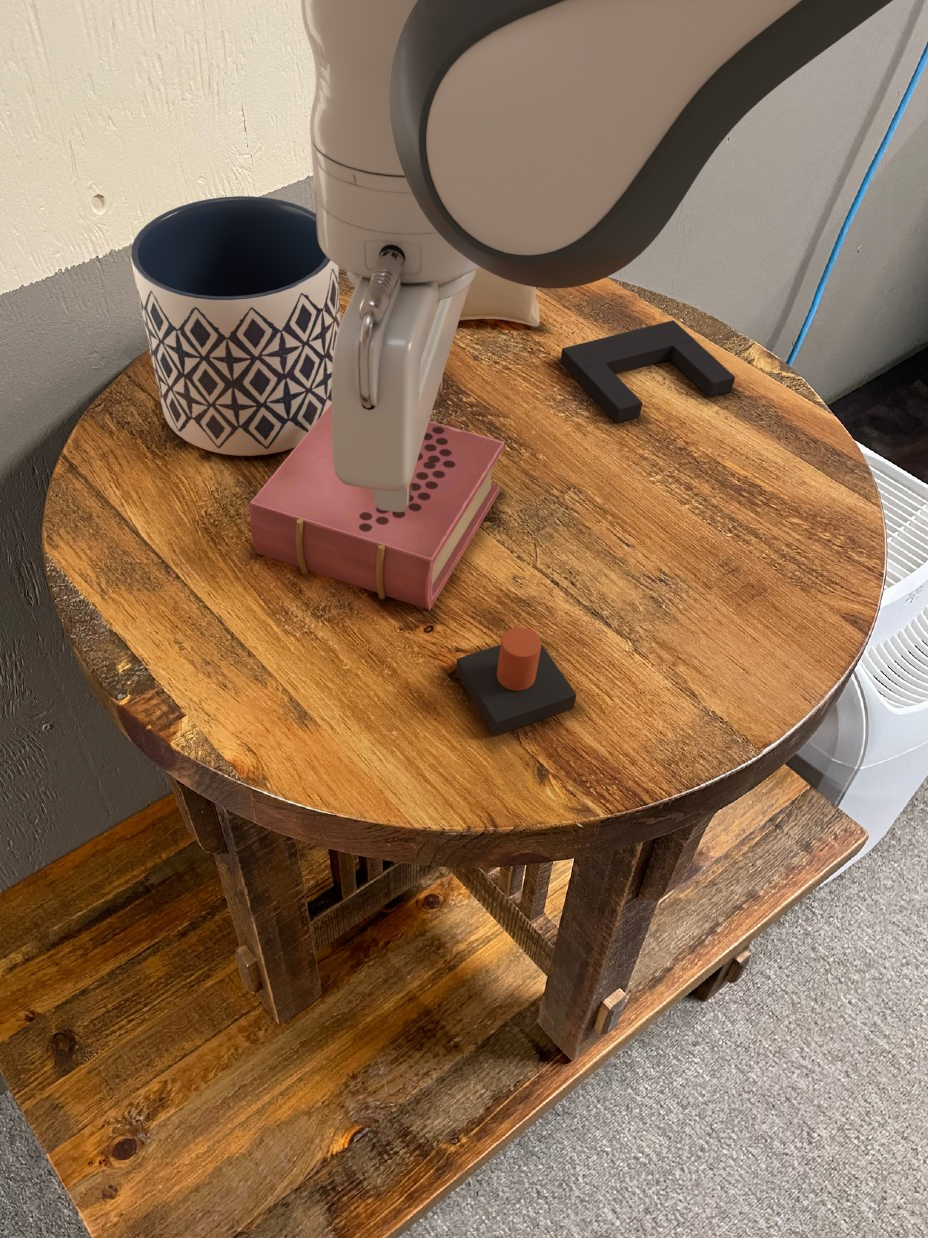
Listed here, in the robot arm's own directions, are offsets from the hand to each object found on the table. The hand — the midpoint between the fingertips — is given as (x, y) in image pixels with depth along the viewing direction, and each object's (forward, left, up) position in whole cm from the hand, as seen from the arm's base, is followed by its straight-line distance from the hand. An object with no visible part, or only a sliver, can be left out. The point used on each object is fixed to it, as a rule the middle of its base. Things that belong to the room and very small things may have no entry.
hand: (409, 448), depth 56 cm
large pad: (-33, -22, -18) cm, 44 cm away
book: (-3, -13, -18) cm, 22 cm away
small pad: (-5, +6, -18) cm, 19 cm away
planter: (+1, -32, -18) cm, 37 cm away
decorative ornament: (-20, -38, -18) cm, 47 cm away
